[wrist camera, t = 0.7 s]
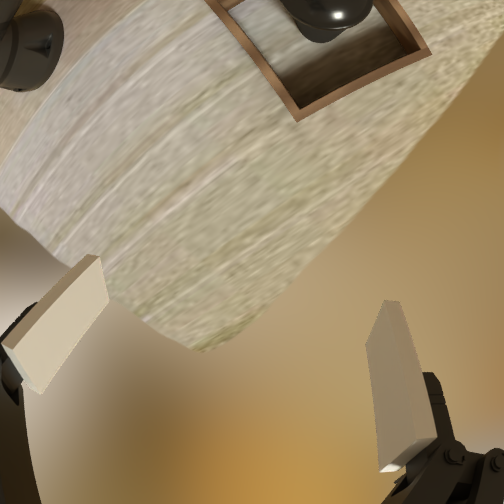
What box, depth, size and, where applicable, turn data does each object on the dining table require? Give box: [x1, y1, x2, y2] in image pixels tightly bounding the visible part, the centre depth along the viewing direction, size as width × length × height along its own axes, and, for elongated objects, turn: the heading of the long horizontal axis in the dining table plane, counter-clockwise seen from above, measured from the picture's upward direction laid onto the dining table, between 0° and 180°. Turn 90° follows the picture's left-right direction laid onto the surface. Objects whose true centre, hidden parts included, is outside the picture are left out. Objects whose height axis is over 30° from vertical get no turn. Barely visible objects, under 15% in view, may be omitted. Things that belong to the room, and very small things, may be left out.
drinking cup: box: [280, 0, 374, 43], centre depth 19 cm, size 8×8×20 cm
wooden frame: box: [204, 0, 432, 122], centre depth 26 cm, size 18×18×5 cm
